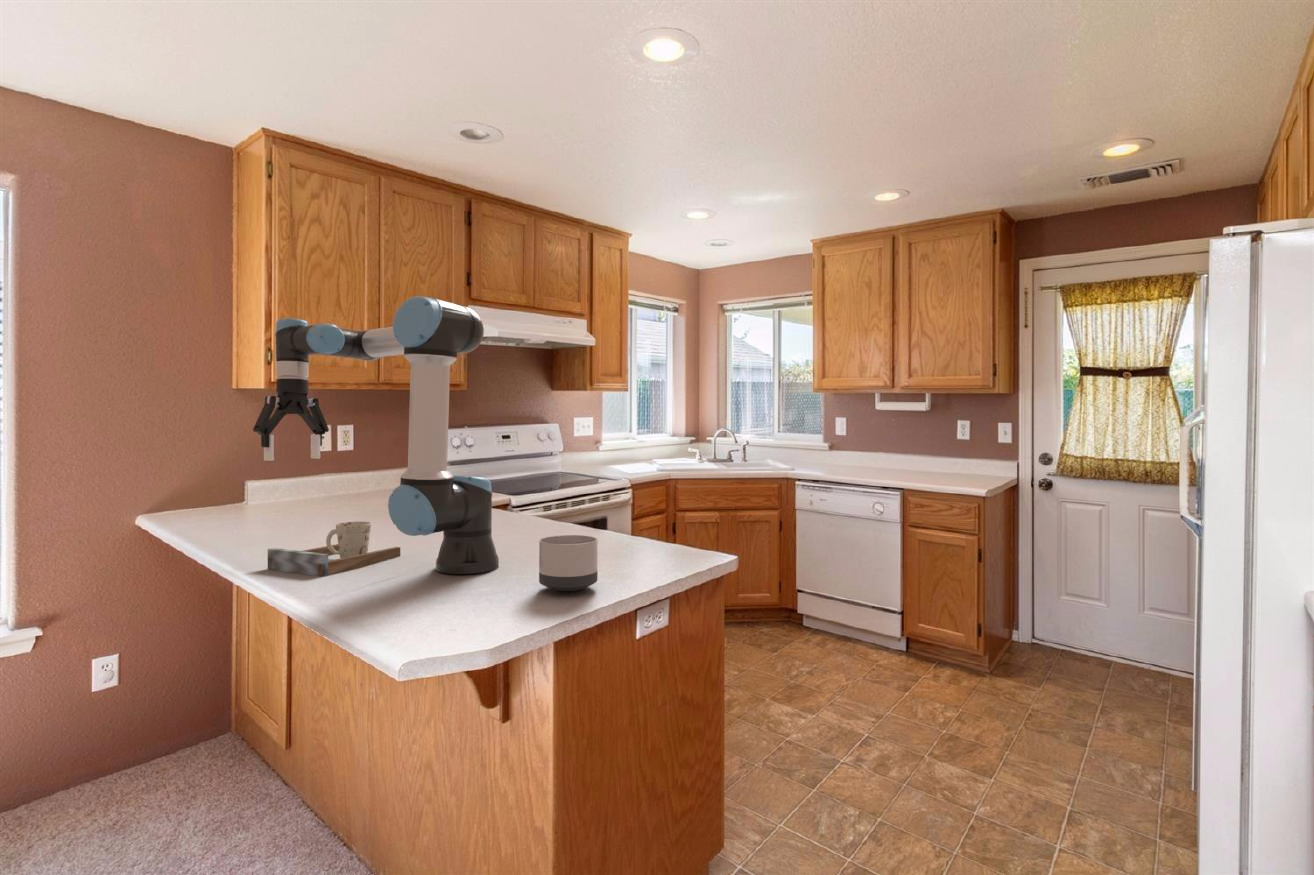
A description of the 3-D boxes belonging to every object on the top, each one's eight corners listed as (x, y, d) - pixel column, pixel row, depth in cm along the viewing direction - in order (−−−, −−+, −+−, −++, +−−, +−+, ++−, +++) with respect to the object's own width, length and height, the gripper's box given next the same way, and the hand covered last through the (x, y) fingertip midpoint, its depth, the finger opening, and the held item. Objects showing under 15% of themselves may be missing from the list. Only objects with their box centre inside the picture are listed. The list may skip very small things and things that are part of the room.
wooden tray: (400, 558, 177) (400, 539, 177) (322, 576, 155) (322, 555, 155) (348, 552, 185) (348, 534, 185) (267, 569, 163) (267, 548, 163)
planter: (545, 579, 153) (545, 534, 153) (600, 580, 153) (600, 535, 153) (533, 593, 140) (533, 544, 140) (593, 594, 140) (593, 544, 140)
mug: (357, 565, 168) (357, 526, 167) (314, 563, 170) (314, 524, 170) (377, 559, 176) (377, 522, 176) (336, 557, 178) (336, 520, 178)
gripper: (323, 382, 186) (323, 457, 187) (236, 375, 164) (237, 461, 164) (342, 381, 183) (342, 457, 184) (257, 374, 161) (257, 461, 161)
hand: (293, 459), depth 174 cm, fingers open, 13 cm apart
